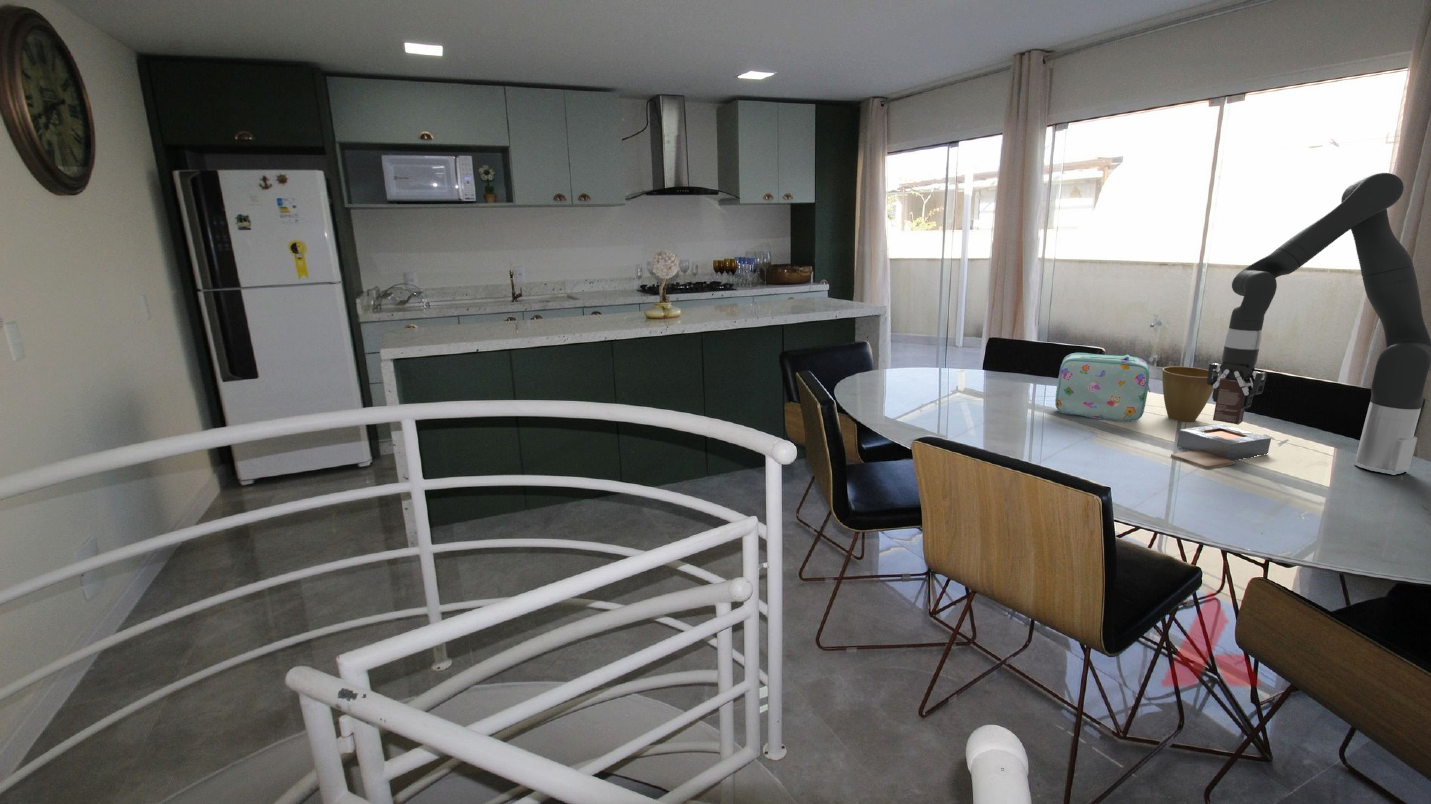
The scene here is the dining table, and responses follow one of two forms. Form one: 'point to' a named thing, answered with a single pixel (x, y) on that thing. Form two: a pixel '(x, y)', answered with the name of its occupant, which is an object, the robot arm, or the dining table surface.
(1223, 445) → the breaker guard
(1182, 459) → the walnut pad
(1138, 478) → the dining table surface
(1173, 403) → the plant pot
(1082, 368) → the lunch box
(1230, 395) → the box
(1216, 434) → the button
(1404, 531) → the dining table surface
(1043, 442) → the dining table surface
